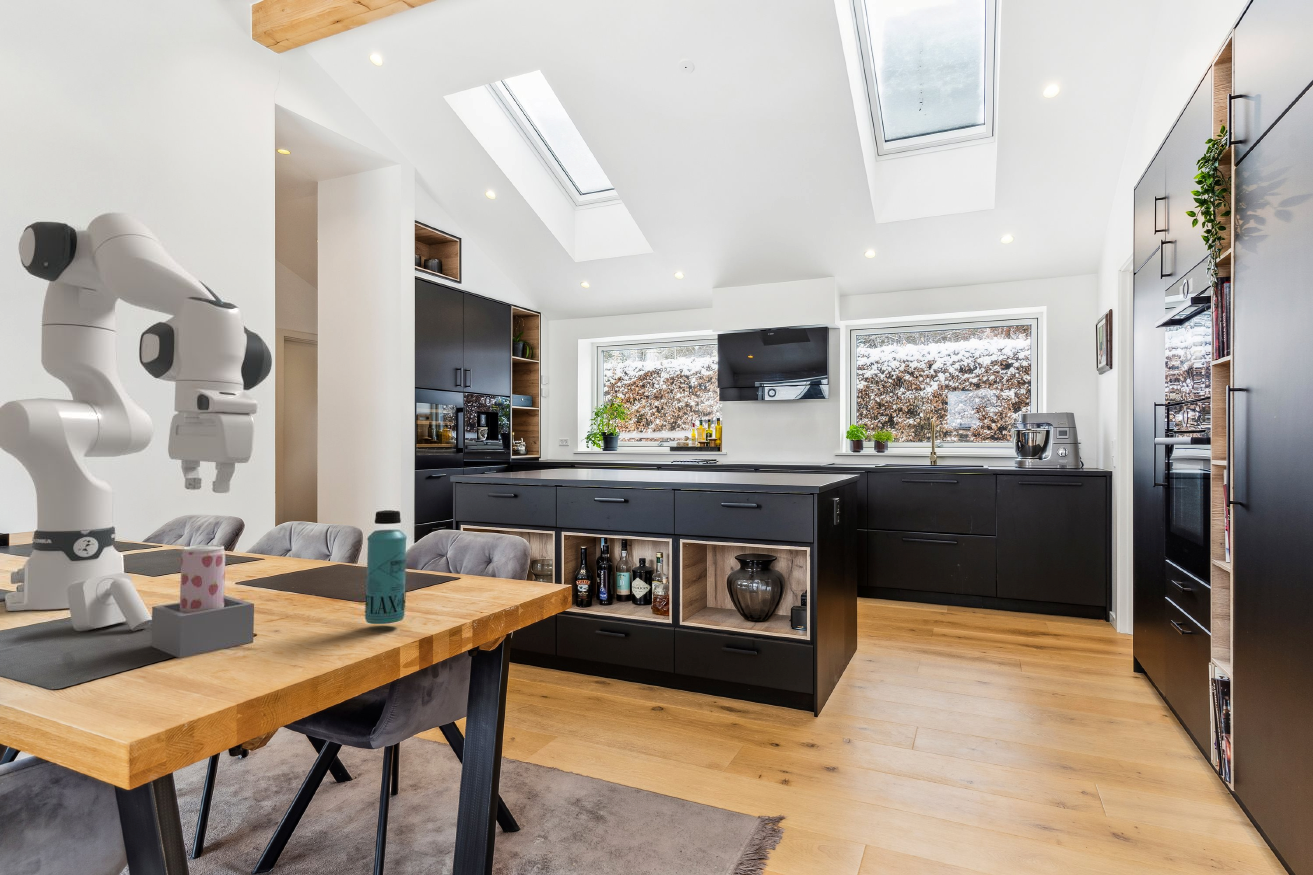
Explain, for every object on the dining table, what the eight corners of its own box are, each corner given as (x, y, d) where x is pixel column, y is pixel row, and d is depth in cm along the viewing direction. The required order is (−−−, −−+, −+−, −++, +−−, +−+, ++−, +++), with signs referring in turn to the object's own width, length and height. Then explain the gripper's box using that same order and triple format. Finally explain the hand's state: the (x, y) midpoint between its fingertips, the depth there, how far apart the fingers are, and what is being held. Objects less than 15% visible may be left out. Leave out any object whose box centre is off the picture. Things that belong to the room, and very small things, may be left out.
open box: (151, 646, 102) (152, 606, 102) (223, 631, 110) (224, 595, 110) (179, 658, 96) (181, 616, 96) (253, 642, 104) (254, 603, 105)
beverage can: (184, 641, 104) (187, 545, 105) (227, 638, 106) (229, 543, 107) (173, 651, 99) (176, 550, 99) (218, 648, 101) (221, 548, 102)
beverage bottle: (355, 632, 111) (358, 511, 111) (377, 622, 117) (380, 508, 118) (392, 634, 110) (395, 512, 110) (412, 624, 116) (415, 509, 117)
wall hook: (126, 633, 106) (115, 571, 107) (74, 644, 108) (65, 583, 109) (172, 621, 114) (162, 563, 115) (123, 631, 116) (114, 574, 117)
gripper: (157, 401, 107) (154, 488, 107) (217, 399, 96) (214, 495, 95) (202, 404, 112) (199, 486, 112) (263, 402, 101) (260, 493, 101)
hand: (206, 491), depth 104 cm, fingers open, 8 cm apart
